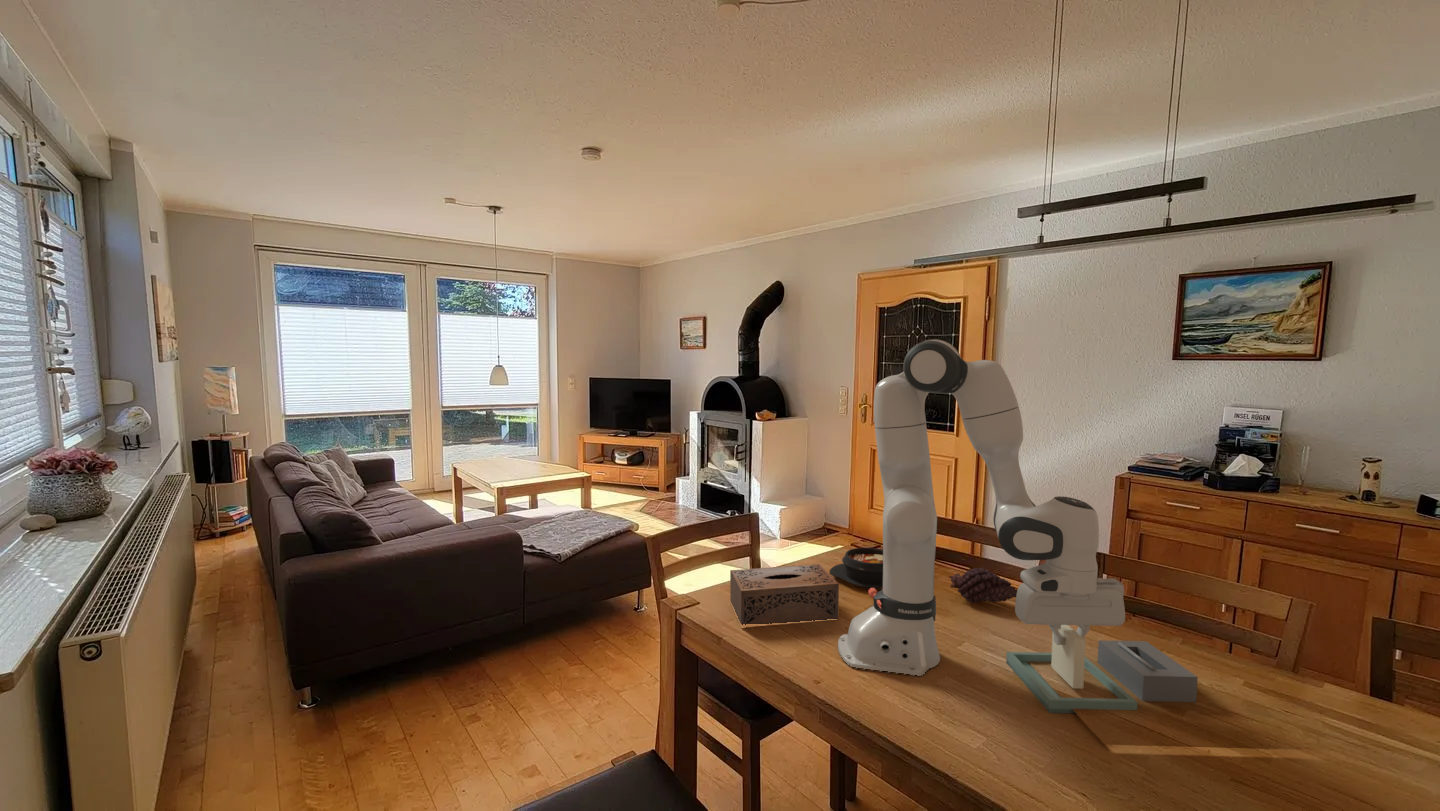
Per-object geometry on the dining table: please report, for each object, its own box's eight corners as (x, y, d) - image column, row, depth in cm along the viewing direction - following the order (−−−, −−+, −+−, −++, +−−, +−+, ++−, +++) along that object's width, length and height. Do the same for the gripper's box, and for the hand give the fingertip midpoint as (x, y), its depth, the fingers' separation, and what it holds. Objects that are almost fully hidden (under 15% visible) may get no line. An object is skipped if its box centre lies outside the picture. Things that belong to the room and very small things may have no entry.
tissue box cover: (819, 598, 161) (819, 564, 160) (838, 621, 146) (838, 583, 146) (730, 605, 156) (730, 570, 156) (741, 629, 142) (741, 590, 141)
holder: (1142, 705, 109) (1143, 672, 109) (1097, 666, 123) (1098, 637, 123) (1195, 706, 109) (1197, 673, 108) (1144, 667, 123) (1146, 638, 122)
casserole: (819, 583, 171) (820, 556, 170) (842, 565, 186) (842, 540, 186) (903, 602, 157) (903, 572, 157) (920, 580, 173) (920, 553, 172)
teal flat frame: (1049, 712, 107) (1050, 700, 107) (1006, 662, 125) (1006, 651, 125) (1136, 714, 106) (1137, 702, 106) (1080, 664, 124) (1081, 653, 124)
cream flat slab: (1072, 688, 112) (1075, 639, 111) (1051, 666, 120) (1053, 621, 119) (1083, 688, 112) (1085, 639, 111) (1060, 666, 119) (1062, 621, 119)
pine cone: (1019, 605, 155) (1020, 569, 154) (1014, 618, 147) (1016, 581, 146) (951, 590, 165) (952, 557, 164) (943, 602, 156) (944, 567, 156)
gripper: (1113, 572, 117) (1110, 637, 118) (1012, 571, 118) (1010, 635, 119) (1134, 584, 110) (1131, 652, 111) (1027, 583, 111) (1025, 650, 112)
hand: (1067, 643), depth 115 cm, fingers closed on cream flat slab, 2 cm apart
